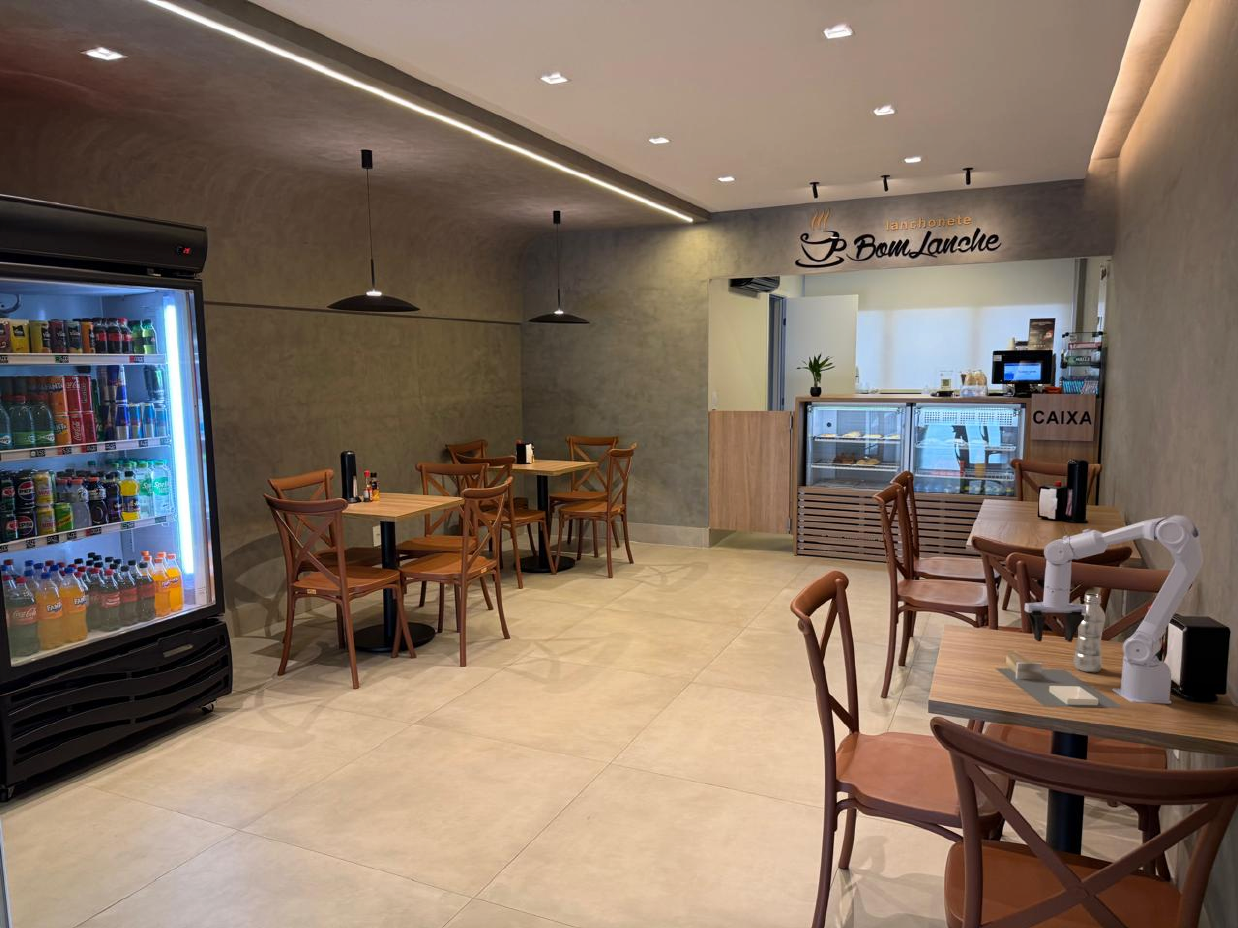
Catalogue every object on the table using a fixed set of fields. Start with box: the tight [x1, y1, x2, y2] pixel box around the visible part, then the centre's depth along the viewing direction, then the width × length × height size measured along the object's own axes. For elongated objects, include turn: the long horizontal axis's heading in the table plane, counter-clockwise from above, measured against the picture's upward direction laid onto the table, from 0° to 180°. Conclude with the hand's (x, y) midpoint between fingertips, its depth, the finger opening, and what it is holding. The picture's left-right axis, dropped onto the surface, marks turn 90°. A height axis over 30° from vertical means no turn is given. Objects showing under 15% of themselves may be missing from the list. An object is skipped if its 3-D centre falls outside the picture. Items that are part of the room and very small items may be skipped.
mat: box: [994, 667, 1124, 709], centre depth 201 cm, size 18×25×1 cm
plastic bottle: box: [1073, 592, 1107, 673], centre depth 213 cm, size 6×7×20 cm
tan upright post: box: [1005, 650, 1043, 680], centre depth 211 cm, size 6×10×4 cm, turn 0°
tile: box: [1049, 686, 1098, 706], centre depth 193 cm, size 7×2×8 cm
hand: (1053, 640), depth 208 cm, fingers open, 7 cm apart
